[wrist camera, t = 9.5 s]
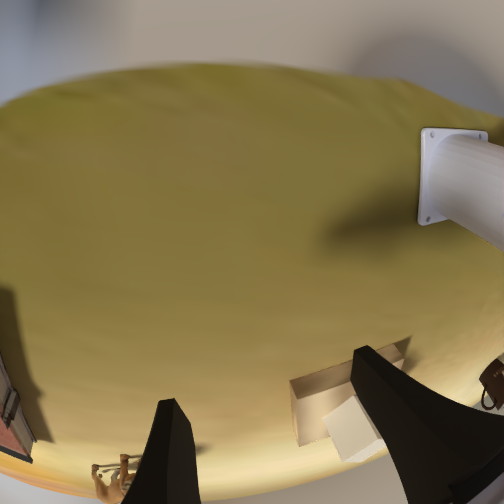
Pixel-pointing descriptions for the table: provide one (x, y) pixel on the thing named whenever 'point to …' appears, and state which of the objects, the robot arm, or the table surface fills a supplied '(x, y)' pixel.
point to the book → (13, 421)
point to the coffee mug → (493, 384)
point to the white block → (353, 431)
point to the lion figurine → (114, 483)
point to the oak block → (325, 396)
